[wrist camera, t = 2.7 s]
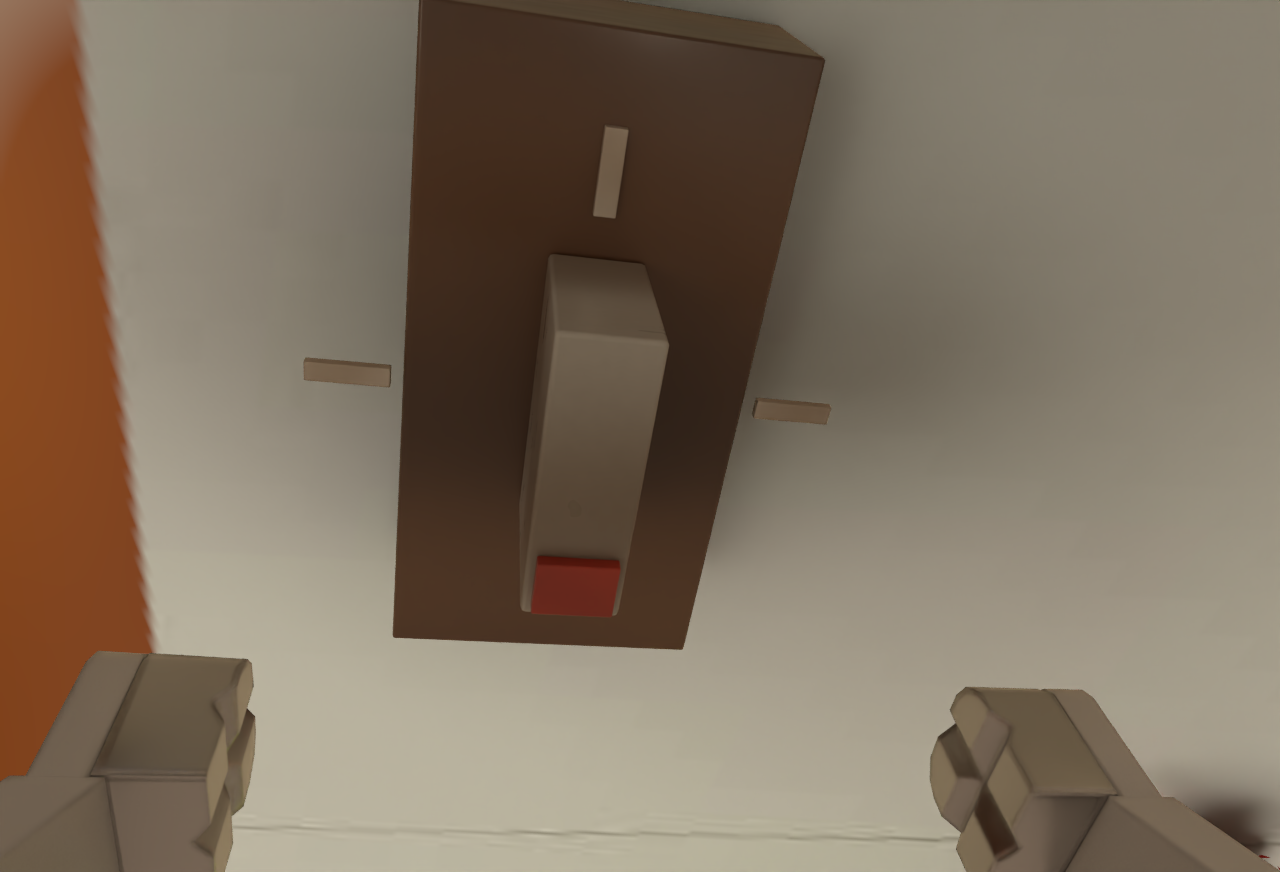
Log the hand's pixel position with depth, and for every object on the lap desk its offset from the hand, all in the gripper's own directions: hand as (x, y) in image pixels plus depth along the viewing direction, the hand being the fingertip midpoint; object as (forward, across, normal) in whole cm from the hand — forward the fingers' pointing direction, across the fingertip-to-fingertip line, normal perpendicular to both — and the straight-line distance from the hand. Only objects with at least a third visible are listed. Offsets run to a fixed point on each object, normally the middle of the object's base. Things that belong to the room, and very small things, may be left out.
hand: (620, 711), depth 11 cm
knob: (+7, 0, 0) cm, 7 cm away
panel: (+10, 0, 0) cm, 10 cm away
